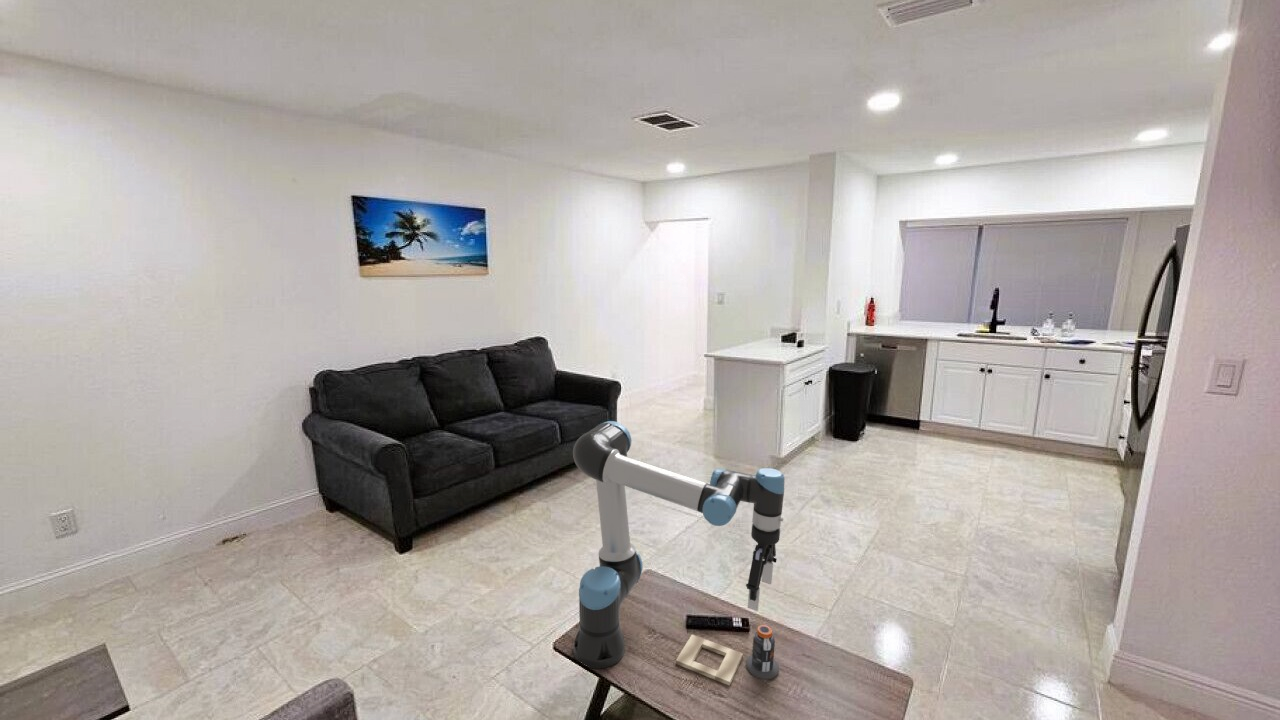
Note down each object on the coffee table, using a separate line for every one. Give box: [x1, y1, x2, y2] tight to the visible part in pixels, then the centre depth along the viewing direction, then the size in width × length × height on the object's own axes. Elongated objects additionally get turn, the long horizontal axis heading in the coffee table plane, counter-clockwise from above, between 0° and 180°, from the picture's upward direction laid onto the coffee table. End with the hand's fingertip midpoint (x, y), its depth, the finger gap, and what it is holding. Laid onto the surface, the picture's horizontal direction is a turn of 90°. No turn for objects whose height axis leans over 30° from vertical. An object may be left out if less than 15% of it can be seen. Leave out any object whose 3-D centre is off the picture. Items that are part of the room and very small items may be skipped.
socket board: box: [675, 634, 744, 687], centre depth 149 cm, size 16×12×1 cm
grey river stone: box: [745, 653, 780, 681], centre depth 147 cm, size 9×9×1 cm
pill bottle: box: [751, 624, 776, 672], centre depth 146 cm, size 6×6×11 cm
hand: (759, 595), depth 145 cm, fingers open, 13 cm apart
